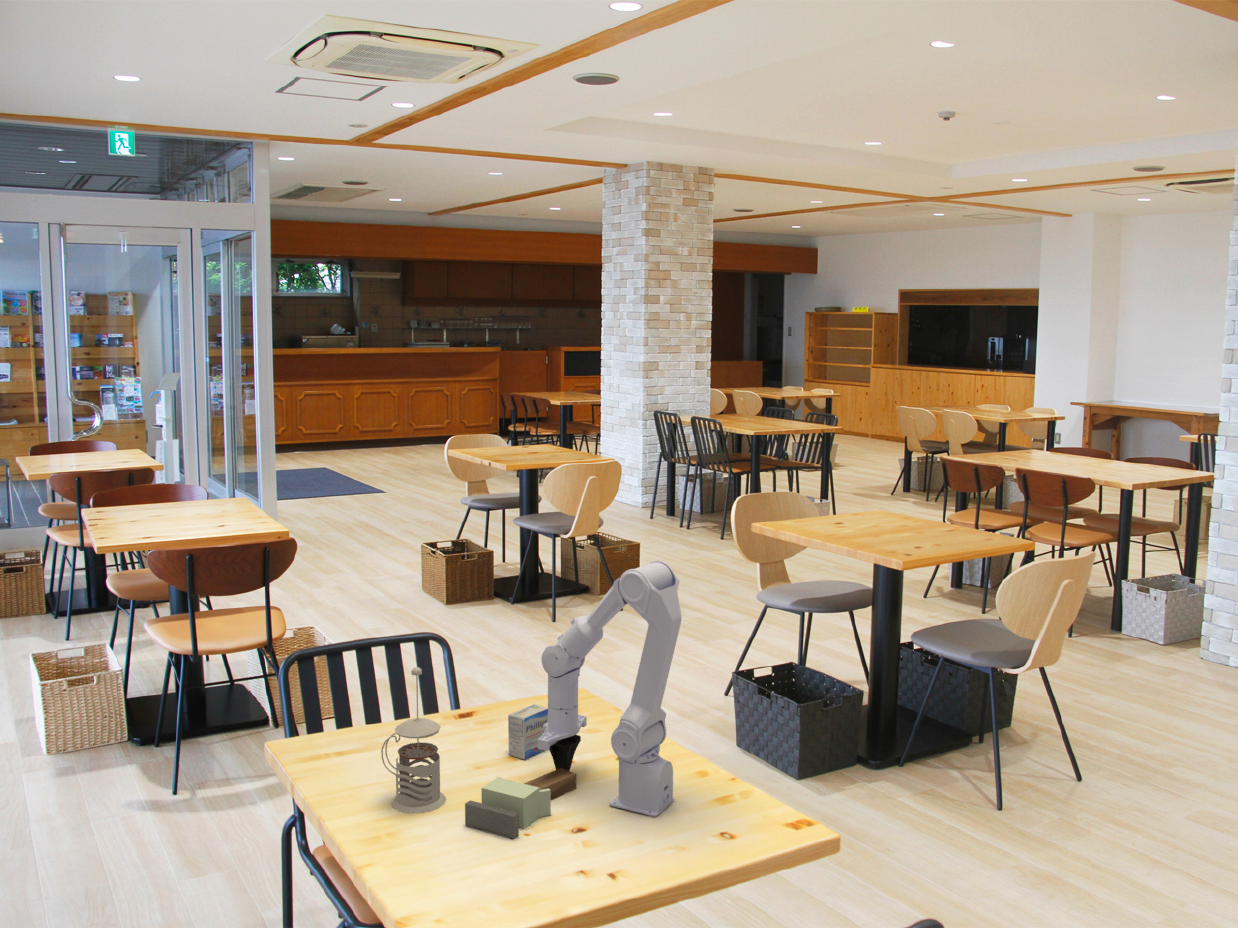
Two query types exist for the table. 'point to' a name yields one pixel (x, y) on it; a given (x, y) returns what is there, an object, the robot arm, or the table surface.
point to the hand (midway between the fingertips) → (562, 773)
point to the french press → (419, 791)
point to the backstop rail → (492, 819)
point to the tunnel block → (518, 799)
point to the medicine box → (526, 731)
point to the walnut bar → (556, 782)
